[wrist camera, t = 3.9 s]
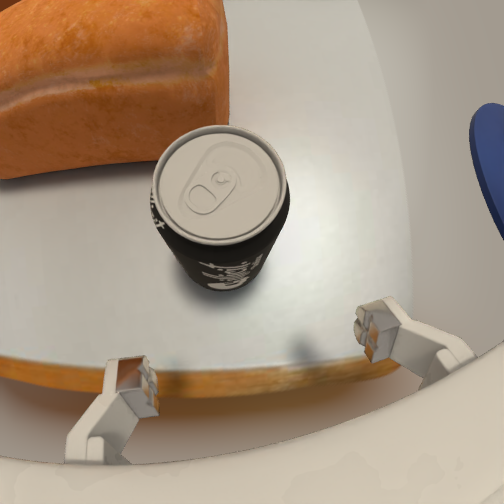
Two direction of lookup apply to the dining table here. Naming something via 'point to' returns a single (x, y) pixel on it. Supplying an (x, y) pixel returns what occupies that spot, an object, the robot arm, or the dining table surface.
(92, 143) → the bread
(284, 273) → the dining table surface
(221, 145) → the beverage can
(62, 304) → the dining table surface
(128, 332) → the dining table surface
